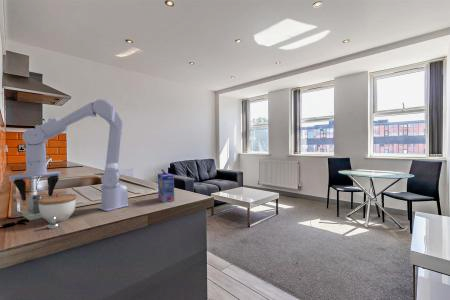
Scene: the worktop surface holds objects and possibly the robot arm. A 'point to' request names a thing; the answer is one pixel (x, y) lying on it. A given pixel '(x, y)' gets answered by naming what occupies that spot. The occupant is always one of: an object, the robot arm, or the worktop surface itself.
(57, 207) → the lidded jar
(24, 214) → the stand
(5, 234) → the worktop surface
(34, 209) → the housing
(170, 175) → the blue juice carton
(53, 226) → the bolt
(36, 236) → the worktop surface
